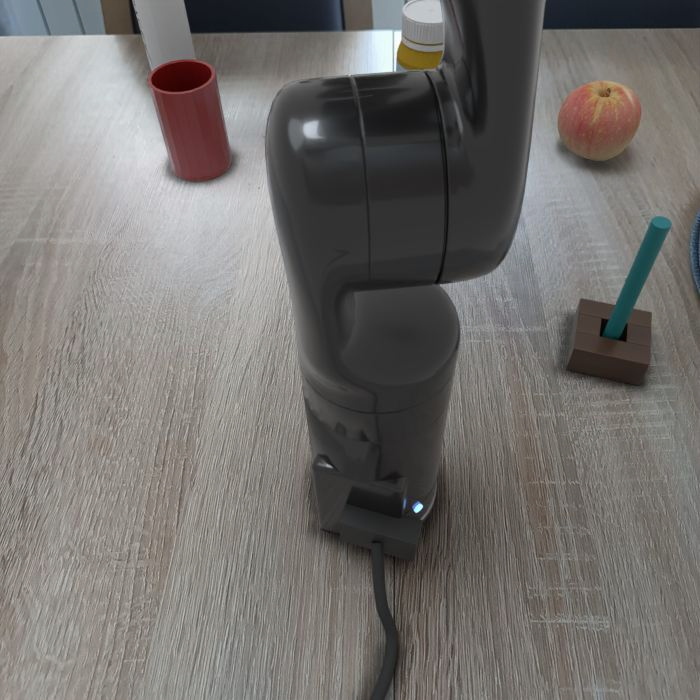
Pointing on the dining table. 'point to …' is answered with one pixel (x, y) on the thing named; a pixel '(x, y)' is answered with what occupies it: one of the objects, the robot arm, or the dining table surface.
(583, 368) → the block
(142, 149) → the dining table surface
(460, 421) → the dining table surface
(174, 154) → the cup
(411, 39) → the bottle
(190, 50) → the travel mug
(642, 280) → the straw
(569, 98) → the apple
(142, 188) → the dining table surface
